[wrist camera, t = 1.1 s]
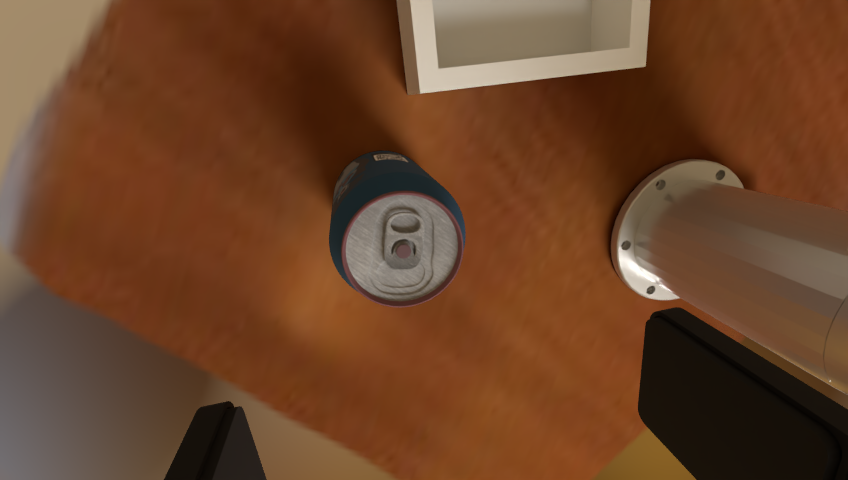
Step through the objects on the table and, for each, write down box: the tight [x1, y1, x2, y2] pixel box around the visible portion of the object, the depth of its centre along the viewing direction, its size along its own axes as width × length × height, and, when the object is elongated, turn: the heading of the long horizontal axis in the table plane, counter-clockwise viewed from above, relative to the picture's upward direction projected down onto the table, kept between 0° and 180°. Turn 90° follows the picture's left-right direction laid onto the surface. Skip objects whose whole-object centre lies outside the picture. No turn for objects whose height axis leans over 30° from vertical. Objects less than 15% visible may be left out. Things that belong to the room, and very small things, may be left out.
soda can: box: [329, 151, 465, 307], centre depth 24 cm, size 7×7×12 cm
